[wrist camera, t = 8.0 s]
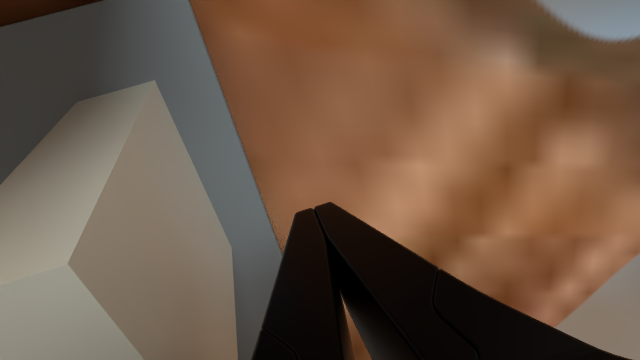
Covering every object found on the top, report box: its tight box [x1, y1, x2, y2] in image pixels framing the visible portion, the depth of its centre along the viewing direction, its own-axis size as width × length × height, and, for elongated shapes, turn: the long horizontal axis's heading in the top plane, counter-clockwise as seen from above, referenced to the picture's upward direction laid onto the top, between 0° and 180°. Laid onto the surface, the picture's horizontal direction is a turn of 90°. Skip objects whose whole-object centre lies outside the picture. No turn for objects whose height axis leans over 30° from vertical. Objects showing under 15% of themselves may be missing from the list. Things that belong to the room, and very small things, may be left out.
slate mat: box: [0, 0, 283, 360], centre depth 14 cm, size 19×13×1 cm
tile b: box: [0, 80, 238, 360], centre depth 9 cm, size 6×2×7 cm, turn 13°
